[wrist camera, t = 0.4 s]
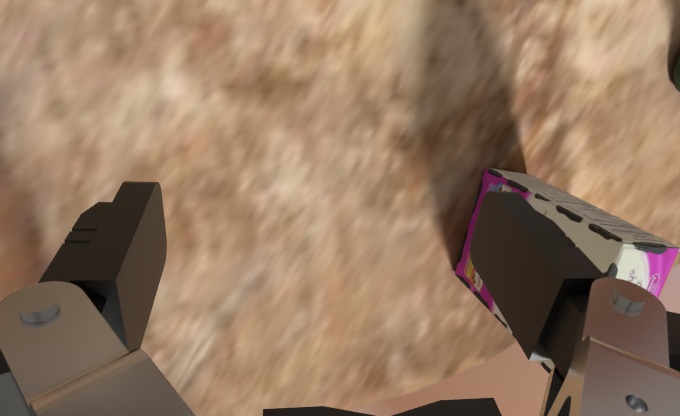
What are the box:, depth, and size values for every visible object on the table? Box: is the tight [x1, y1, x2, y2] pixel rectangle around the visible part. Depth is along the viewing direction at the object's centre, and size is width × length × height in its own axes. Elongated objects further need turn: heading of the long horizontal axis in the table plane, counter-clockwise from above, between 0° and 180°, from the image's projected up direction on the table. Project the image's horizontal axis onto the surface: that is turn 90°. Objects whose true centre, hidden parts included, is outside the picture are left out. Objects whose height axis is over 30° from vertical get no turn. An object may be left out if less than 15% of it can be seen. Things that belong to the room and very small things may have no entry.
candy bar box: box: [455, 168, 680, 374], centre depth 38 cm, size 11×5×16 cm, turn 169°
